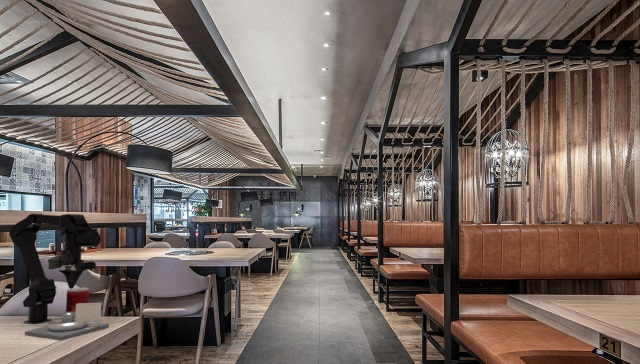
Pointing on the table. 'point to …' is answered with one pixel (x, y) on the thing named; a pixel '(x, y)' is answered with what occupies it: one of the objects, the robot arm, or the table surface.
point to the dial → (77, 317)
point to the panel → (63, 335)
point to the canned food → (76, 298)
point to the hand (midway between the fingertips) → (71, 288)
